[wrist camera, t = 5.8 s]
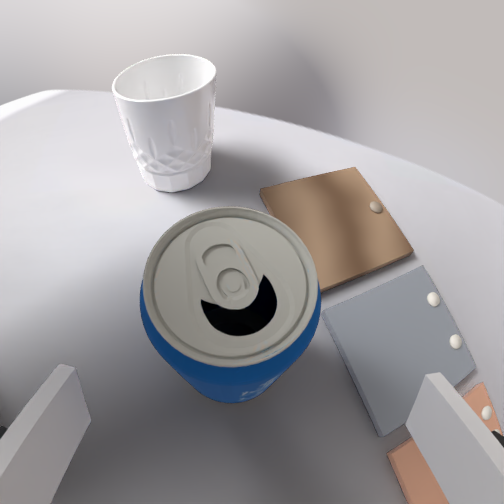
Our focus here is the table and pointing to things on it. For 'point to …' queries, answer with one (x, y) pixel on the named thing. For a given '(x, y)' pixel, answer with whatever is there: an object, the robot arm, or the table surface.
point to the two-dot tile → (397, 344)
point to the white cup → (169, 118)
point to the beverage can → (230, 300)
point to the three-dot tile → (415, 466)
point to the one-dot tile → (338, 224)
